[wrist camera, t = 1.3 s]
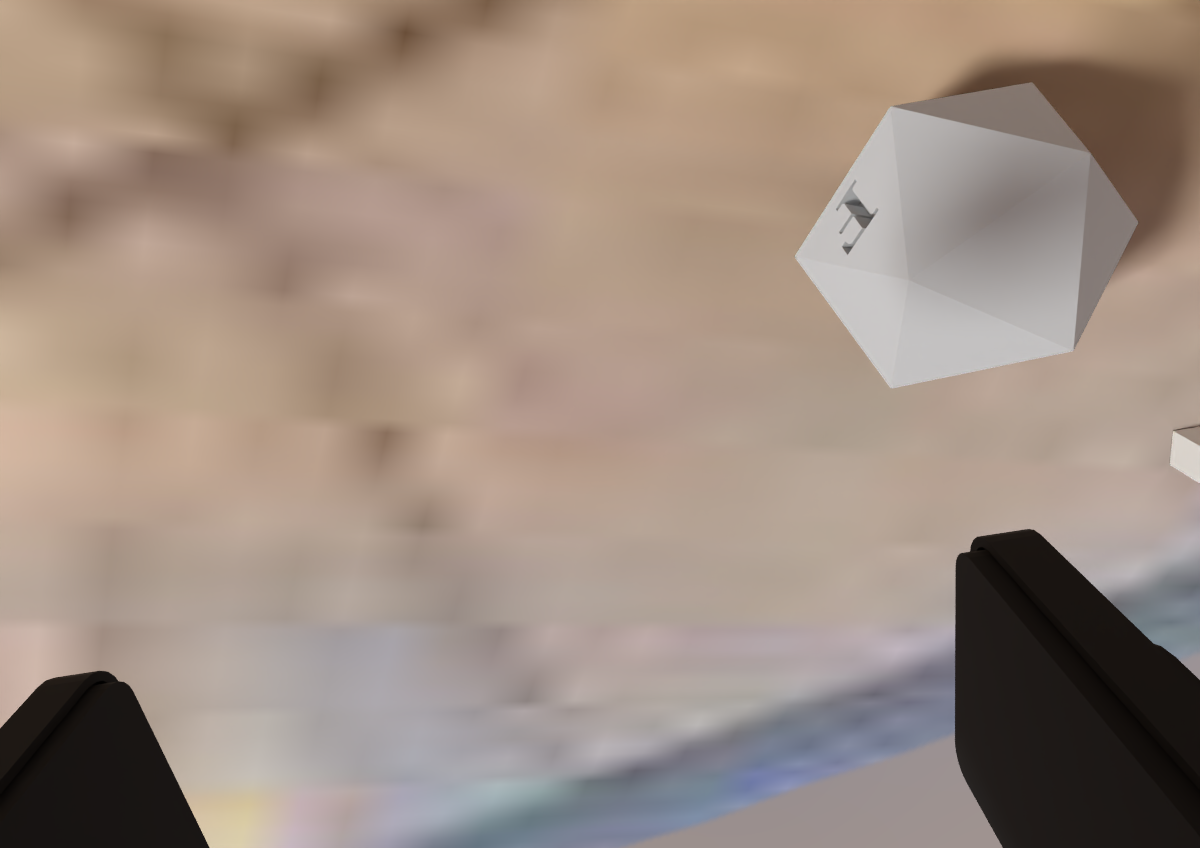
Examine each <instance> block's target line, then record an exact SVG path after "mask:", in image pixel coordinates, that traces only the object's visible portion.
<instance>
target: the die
mask: <svg viewBox="0 0 1200 848" xmlns="http://www.w3.org/2000/svg"><path fill="white" fill-rule="evenodd" d="M1137 224H1138V221H1137V219H1136V218H1135V216H1134V215H1133V213H1132V212H1131V211H1130V209H1129V208H1128V206H1127V205H1126V203H1125V202H1124V200H1123V199H1122V198H1121V196H1120V195H1119V193H1118V192H1117V190H1116V189H1115V187H1114V186H1113V185H1112V183H1111V182H1110V180H1109V179H1108V177H1107V176H1106V174H1105V173H1104V172H1103V170H1102V169H1101V167H1100V166H1099V164H1098V163H1097V161H1096V160H1095V159H1094V157H1093V156H1092V154H1091V153H1090V152H1089V150H1088V149H1087V148H1086V147H1085V146H1084V144H1083V143H1082V142H1081V141H1080V140H1079V138H1078V137H1077V136H1076V135H1075V133H1074V132H1073V131H1072V130H1071V129H1070V127H1069V126H1068V125H1067V124H1066V123H1065V121H1064V120H1063V119H1062V118H1061V116H1060V115H1059V114H1058V113H1057V112H1056V110H1055V109H1054V108H1053V107H1052V106H1051V104H1050V103H1049V102H1048V101H1047V99H1046V98H1045V97H1044V96H1043V95H1042V93H1041V92H1040V91H1039V90H1038V89H1037V87H1036V86H1035V85H1034V84H1033V82H1030V83H1024V84H1018V85H1013V86H1007V87H1001V88H995V89H989V90H983V91H977V92H972V93H966V94H960V95H954V96H948V97H942V98H936V99H931V100H925V101H919V102H913V103H907V104H901V105H896V106H890V108H889V110H888V111H887V113H886V114H885V116H884V117H883V119H882V121H881V122H880V124H879V125H878V127H877V128H876V130H875V131H874V133H873V135H872V136H871V138H870V139H869V141H868V142H867V144H866V146H865V147H864V149H863V150H862V152H861V153H860V155H859V156H858V158H857V160H856V161H855V163H854V164H853V166H852V167H851V169H850V171H849V172H848V174H847V175H846V177H845V178H844V180H843V182H842V183H841V185H840V186H839V188H838V189H837V191H836V192H835V194H834V196H833V197H832V199H831V200H830V202H829V203H828V205H827V207H826V208H825V210H824V211H823V213H822V214H821V216H820V217H819V219H818V221H817V222H816V224H815V225H814V227H813V228H812V230H811V232H810V233H809V235H808V236H807V238H806V239H805V241H804V242H803V244H802V246H801V247H800V249H799V250H798V252H797V253H796V255H795V258H796V260H797V261H798V262H799V264H800V265H801V266H802V268H803V269H804V270H805V272H806V273H807V275H808V276H809V277H810V279H811V280H812V281H813V283H814V284H815V286H816V287H817V288H818V290H819V291H820V292H821V294H822V295H823V296H824V298H825V299H826V301H827V302H828V303H829V305H830V306H831V307H832V309H833V310H834V311H835V313H836V314H837V316H838V317H839V318H840V320H841V321H842V322H843V324H844V325H845V326H846V328H847V329H848V331H849V332H850V333H851V335H852V336H853V337H854V339H855V340H856V341H857V343H858V344H859V346H860V347H861V348H862V350H863V351H864V352H865V354H866V355H867V356H868V358H869V359H870V361H871V362H872V363H873V365H874V366H875V367H876V369H877V370H878V371H879V373H880V374H881V376H882V377H883V378H884V380H885V381H886V382H887V384H888V385H889V387H890V388H896V387H901V386H906V385H911V384H916V383H921V382H925V381H930V380H935V379H940V378H945V377H950V376H955V375H959V374H964V373H969V372H974V371H979V370H984V369H988V368H993V367H998V366H1003V365H1008V364H1013V363H1018V362H1022V361H1027V360H1032V359H1037V358H1042V357H1047V356H1051V355H1056V354H1061V353H1066V352H1071V351H1074V349H1075V347H1076V345H1077V343H1078V341H1079V339H1080V337H1081V335H1082V333H1083V331H1084V329H1085V327H1086V325H1087V323H1088V321H1089V319H1090V317H1091V315H1092V313H1093V311H1094V309H1095V307H1096V305H1097V303H1098V301H1099V299H1100V297H1101V296H1102V294H1103V292H1104V290H1105V288H1106V286H1107V284H1108V282H1109V280H1110V278H1111V276H1112V274H1113V272H1114V270H1115V268H1116V266H1117V264H1118V262H1119V260H1120V258H1121V256H1122V254H1123V252H1124V250H1125V248H1126V246H1127V244H1128V242H1129V240H1130V238H1131V236H1132V234H1133V232H1134V230H1135V228H1136V226H1137Z"/></svg>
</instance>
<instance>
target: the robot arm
mask: <svg viewBox="0 0 1200 848" xmlns="http://www.w3.org/2000/svg"><path fill="white" fill-rule="evenodd" d="M955 747H956V753H957V758H958V762H959V765H960V768H961V771H962V773H963V776H964V778H965V780H966V782H967V784H968V786H969V787H970V789H971V791H972V793H973V795H974V797H975V798H976V800H977V802H978V804H979V806H980V807H981V809H982V811H983V813H984V814H985V816H986V818H987V820H988V822H989V824H990V825H991V827H992V829H993V831H994V832H995V834H996V836H997V838H998V839H999V841H1000V843H1001V845H1002V847H1003V848H1200V680H1199V679H1198V678H1197V677H1196V676H1195V675H1194V674H1193V673H1192V672H1191V671H1190V670H1189V669H1188V668H1186V667H1185V666H1184V665H1183V664H1182V663H1181V662H1180V661H1179V660H1178V659H1177V658H1176V657H1175V656H1173V655H1172V654H1171V653H1169V652H1168V651H1167V650H1165V649H1164V648H1163V647H1161V646H1159V645H1156V644H1153V643H1152V642H1151V641H1150V640H1149V639H1148V638H1147V637H1146V636H1145V635H1144V634H1143V633H1142V632H1141V631H1140V630H1139V629H1138V628H1137V627H1136V626H1135V625H1134V624H1133V623H1131V622H1130V621H1129V620H1128V619H1127V618H1126V617H1125V616H1124V615H1123V614H1122V613H1121V612H1120V611H1119V610H1118V609H1117V608H1116V607H1115V606H1114V605H1113V604H1112V603H1111V602H1110V601H1109V600H1108V599H1107V598H1106V597H1105V596H1104V595H1103V594H1102V593H1100V592H1099V591H1098V590H1097V589H1096V588H1095V587H1094V586H1093V585H1092V584H1091V583H1090V582H1089V581H1088V580H1087V579H1086V578H1085V577H1084V576H1083V575H1082V574H1081V573H1080V572H1079V571H1078V570H1077V569H1076V568H1075V567H1074V566H1073V565H1072V564H1070V563H1069V562H1068V561H1067V560H1066V559H1065V558H1064V557H1063V556H1062V555H1061V554H1060V553H1059V552H1058V551H1057V550H1056V549H1055V548H1054V547H1053V546H1052V545H1051V544H1050V543H1049V542H1048V541H1047V540H1046V539H1045V538H1044V537H1043V536H1042V535H1040V534H1039V533H1038V532H1036V531H1035V530H1031V529H1026V530H1019V531H1013V532H1006V533H1000V534H993V535H986V536H980V537H977V538H975V539H974V540H973V542H972V545H971V550H970V552H966V553H961V554H959V555H958V557H957V560H956V625H955ZM0 848H209V846H208V844H207V842H206V840H205V838H204V836H203V834H202V831H201V829H200V827H199V825H198V823H197V821H196V819H195V817H194V815H193V813H192V811H191V809H190V807H189V805H188V803H187V801H186V799H185V797H184V795H183V793H182V790H181V788H180V786H179V784H178V782H177V780H176V778H175V776H174V774H173V772H172V770H171V768H170V766H169V764H168V762H167V760H166V758H165V756H164V754H163V752H162V749H161V747H160V745H159V743H158V741H157V739H156V737H155V735H154V733H153V731H152V729H151V727H150V725H149V723H148V721H147V719H146V717H145V715H144V713H143V711H142V708H141V706H140V704H139V702H138V700H137V698H136V696H135V694H134V692H133V690H132V689H131V688H130V686H129V685H128V684H126V683H125V682H119V681H118V680H117V679H116V677H115V676H113V675H112V674H110V673H109V672H105V671H96V672H89V673H83V674H76V675H70V676H63V677H56V678H53V679H49V680H46V681H45V682H44V683H42V684H41V685H40V686H39V687H38V688H37V689H36V690H35V691H34V692H33V693H32V694H31V695H30V696H29V697H28V699H27V700H26V701H25V702H24V703H23V704H22V705H21V706H20V707H19V708H18V710H17V711H16V712H15V713H14V714H13V715H12V716H11V717H10V718H9V719H8V721H7V722H6V723H5V724H4V725H3V726H2V727H1V728H0Z"/></svg>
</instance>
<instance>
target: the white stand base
mask: <svg viewBox="0 0 1200 848" xmlns="http://www.w3.org/2000/svg"><path fill="white" fill-rule="evenodd" d="M1170 465H1171V466H1173V467H1174V468H1176V469H1177V470H1179V471H1181V472H1182V473H1184V474H1185V475H1187V476H1189V477H1190V478H1192V479H1193V480H1195V481H1197V482H1198V483H1200V427H1194V428H1188V429H1182V430H1175V431H1173V437H1172V447H1171V458H1170Z"/></svg>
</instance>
